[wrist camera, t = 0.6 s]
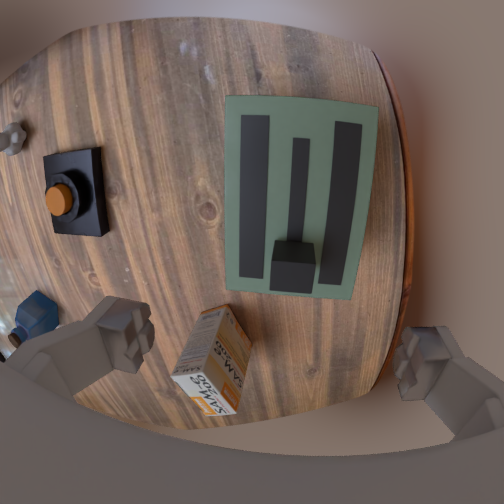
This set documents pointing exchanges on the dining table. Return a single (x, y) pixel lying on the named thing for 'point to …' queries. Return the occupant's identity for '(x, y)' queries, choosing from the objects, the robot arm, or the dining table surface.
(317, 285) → the toaster
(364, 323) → the dining table surface
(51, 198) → the button
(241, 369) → the supplement box
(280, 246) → the block
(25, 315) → the perfume bottle
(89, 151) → the button block
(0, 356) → the vinegar
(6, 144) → the grey rounded figurine
